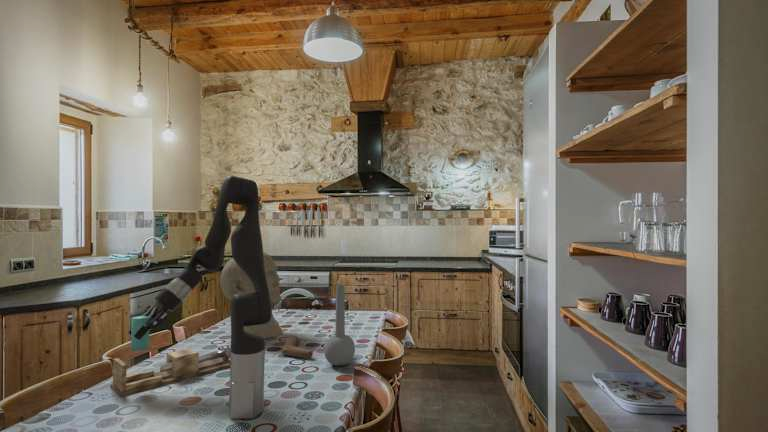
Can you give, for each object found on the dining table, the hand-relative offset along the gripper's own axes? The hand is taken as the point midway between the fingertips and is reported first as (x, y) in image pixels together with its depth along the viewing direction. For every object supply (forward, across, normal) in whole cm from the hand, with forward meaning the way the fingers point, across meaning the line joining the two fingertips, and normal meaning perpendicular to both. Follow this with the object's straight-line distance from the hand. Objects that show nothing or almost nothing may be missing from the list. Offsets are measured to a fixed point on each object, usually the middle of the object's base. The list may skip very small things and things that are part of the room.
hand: (133, 336), depth 127 cm
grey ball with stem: (-32, +30, +55) cm, 71 cm away
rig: (+2, 0, +21) cm, 21 cm away
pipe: (-28, +12, +52) cm, 60 cm away
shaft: (-4, 0, +25) cm, 25 cm away
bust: (-30, -30, +54) cm, 68 cm away
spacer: (+2, 0, +4) cm, 5 cm away
